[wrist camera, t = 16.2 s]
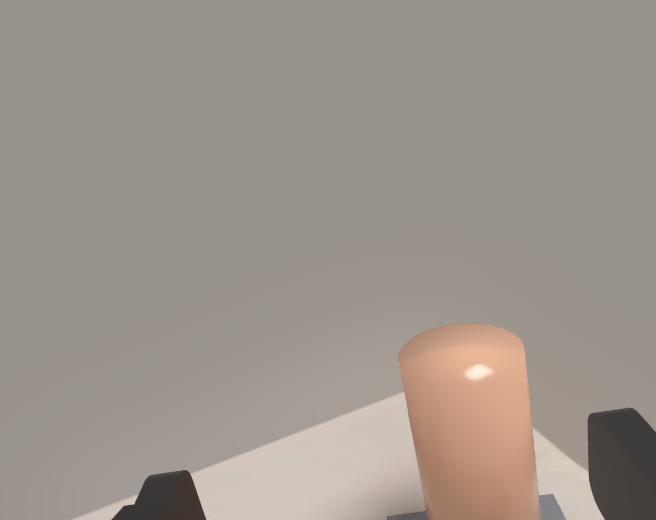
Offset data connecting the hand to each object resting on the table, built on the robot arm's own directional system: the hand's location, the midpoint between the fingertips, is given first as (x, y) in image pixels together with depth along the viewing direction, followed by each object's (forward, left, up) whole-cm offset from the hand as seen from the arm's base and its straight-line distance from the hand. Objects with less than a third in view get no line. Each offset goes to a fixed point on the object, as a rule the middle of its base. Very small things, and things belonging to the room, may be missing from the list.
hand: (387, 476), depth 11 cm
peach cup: (-5, +17, -23) cm, 29 cm away
